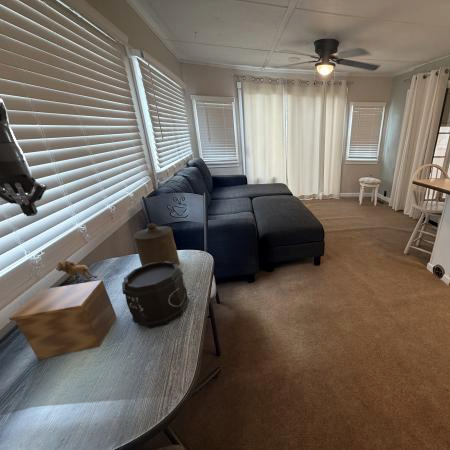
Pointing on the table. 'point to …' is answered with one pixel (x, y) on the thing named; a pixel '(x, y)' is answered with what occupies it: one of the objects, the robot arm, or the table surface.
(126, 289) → the dark round tin
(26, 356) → the table surface
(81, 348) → the box
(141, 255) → the wooden container
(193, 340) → the table surface
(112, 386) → the table surface
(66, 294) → the lid
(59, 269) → the lion figurine
